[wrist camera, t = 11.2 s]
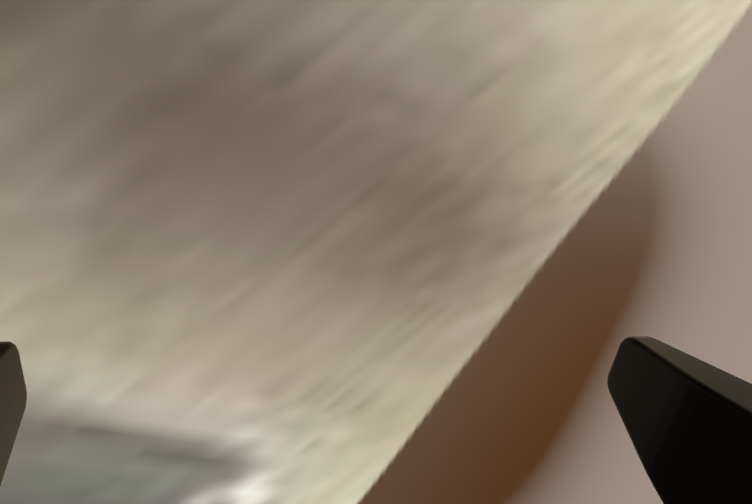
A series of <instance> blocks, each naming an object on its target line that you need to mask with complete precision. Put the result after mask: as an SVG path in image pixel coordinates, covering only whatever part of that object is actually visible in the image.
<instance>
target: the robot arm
mask: <svg viewBox="0 0 752 504" xmlns="http://www.w3.org/2000/svg"><path fill="white" fill-rule="evenodd" d="M608 389H609V391H610V394H611V396H612V398H613V401H614V403H615V405H616V407H617V410H618V412H619V414H620V416H621V418H622V421H623V422H624V425H625V427H626V429H627V431H628V433H629V436H630V438H631V440H632V443H633V445H634V447H635V449H636V451H637V453H638V456H639V458H640V460H641V462H642V464H643V466H644V468H645V470H646V473H647V475H648V476H649V478H650V480H651V482H652V484H653V486H654V487H655V489H656V491H657V493H658V494H659V496H660V498H661V500H662V501H663V503H664V504H752V384H750V383H748V382H746V381H744V380H742V379H740V378H738V377H735V376H733V375H731V374H729V373H727V372H725V371H722V370H721V369H718V368H716V367H714V366H712V365H710V364H708V363H706V362H703V361H701V360H699V359H697V358H695V357H693V356H691V355H688V354H686V353H684V352H682V351H680V350H678V349H675V348H673V347H671V346H669V345H667V344H665V343H663V342H661V341H659V340H656V339H654V338H652V337H627V338H625V339H624V340H623V341H622V342H621V344H620V346H619V348H618V351H617V354H616V356H615V359H614V362H613V364H612V366H611V369H610V372H609V374H608ZM26 400H27V391H26V386H25V381H24V376H23V371H22V366H21V361H20V356H19V352H18V349H17V347H16V345H14V344H13V343H11V342H0V485H1V482H2V479H3V476H4V473H5V470H6V467H7V464H8V460H9V457H10V454H11V451H12V448H13V445H14V442H15V439H16V436H17V432H18V429H19V426H20V423H21V420H22V417H23V414H24V411H25V407H26Z"/></svg>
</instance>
